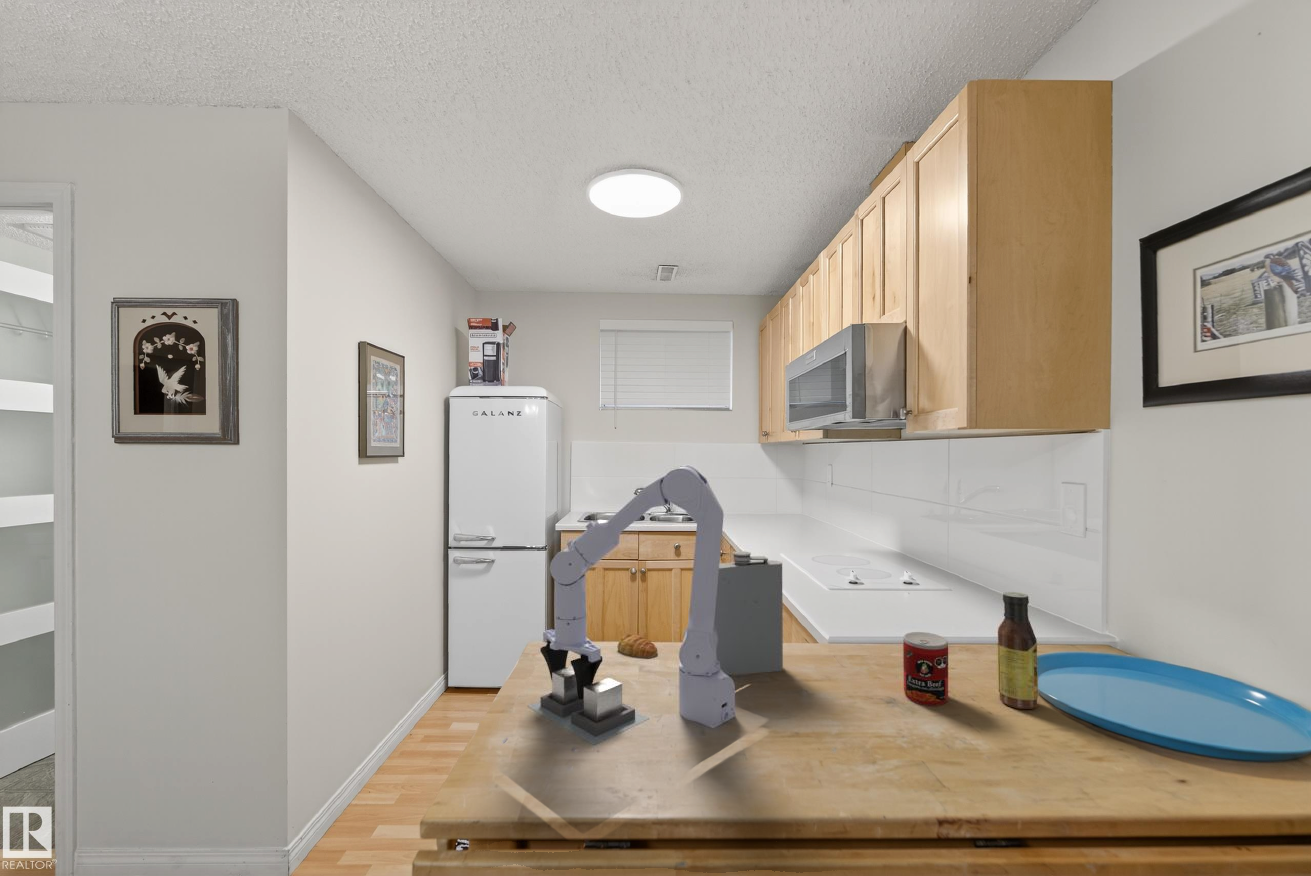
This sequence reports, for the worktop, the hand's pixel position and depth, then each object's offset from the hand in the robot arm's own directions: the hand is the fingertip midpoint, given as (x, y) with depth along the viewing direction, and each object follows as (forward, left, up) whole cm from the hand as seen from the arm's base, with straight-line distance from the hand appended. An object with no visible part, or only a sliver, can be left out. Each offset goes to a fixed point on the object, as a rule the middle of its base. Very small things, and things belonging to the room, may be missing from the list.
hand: (571, 690), depth 106 cm
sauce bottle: (-56, -59, -4) cm, 82 cm away
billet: (-9, 0, -2) cm, 9 cm away
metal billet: (0, 0, -2) cm, 2 cm away
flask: (-12, -36, -4) cm, 38 cm away
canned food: (-44, -50, -4) cm, 66 cm away
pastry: (+12, -28, -4) cm, 31 cm away
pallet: (-4, 0, -4) cm, 6 cm away
